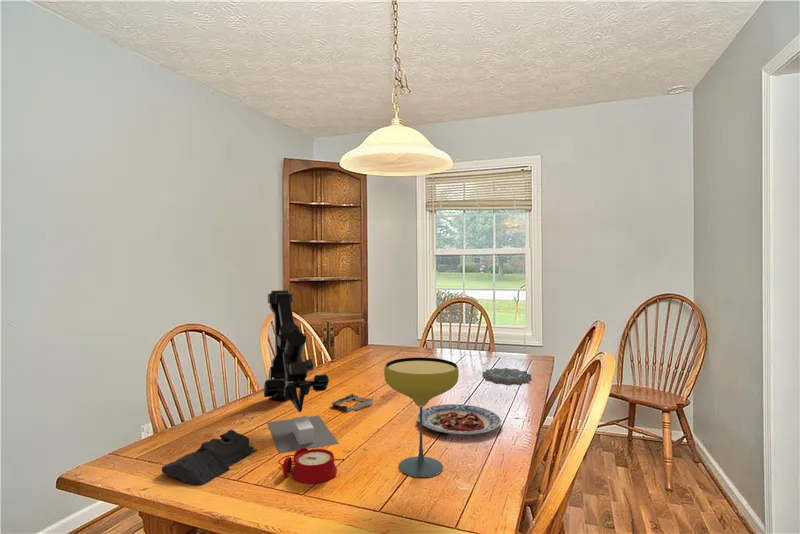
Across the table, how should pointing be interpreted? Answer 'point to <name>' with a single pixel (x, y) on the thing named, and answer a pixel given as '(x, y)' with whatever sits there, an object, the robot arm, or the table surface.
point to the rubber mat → (288, 441)
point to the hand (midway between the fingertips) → (300, 411)
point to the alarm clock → (310, 465)
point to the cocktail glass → (421, 398)
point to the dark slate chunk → (210, 459)
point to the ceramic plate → (459, 419)
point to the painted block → (303, 430)
